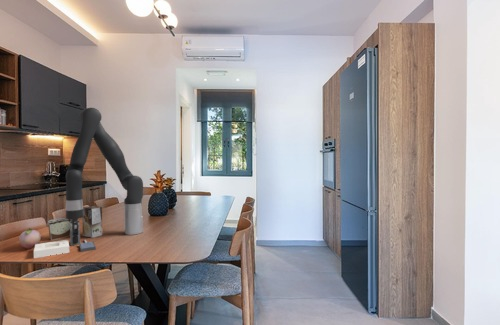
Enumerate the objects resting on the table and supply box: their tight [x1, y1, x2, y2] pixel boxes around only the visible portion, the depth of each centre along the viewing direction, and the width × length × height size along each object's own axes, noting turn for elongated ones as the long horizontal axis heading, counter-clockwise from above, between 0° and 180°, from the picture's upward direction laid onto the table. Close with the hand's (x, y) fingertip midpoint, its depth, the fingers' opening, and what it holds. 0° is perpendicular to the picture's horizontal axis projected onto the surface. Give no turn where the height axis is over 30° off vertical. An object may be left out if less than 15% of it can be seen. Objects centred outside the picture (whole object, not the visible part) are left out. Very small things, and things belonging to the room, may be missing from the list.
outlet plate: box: [33, 239, 70, 259], centre depth 132 cm, size 13×13×3 cm
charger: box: [69, 228, 81, 246], centre depth 144 cm, size 4×4×7 cm
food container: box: [46, 217, 72, 241], centre depth 156 cm, size 12×6×10 cm, turn 149°
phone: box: [78, 239, 97, 253], centre depth 141 cm, size 6×19×1 cm, turn 35°
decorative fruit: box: [18, 227, 42, 249], centre depth 137 cm, size 9×8×10 cm
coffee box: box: [81, 205, 103, 239], centre depth 159 cm, size 9×6×16 cm
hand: (75, 242), depth 144 cm, fingers closed on charger, 4 cm apart
